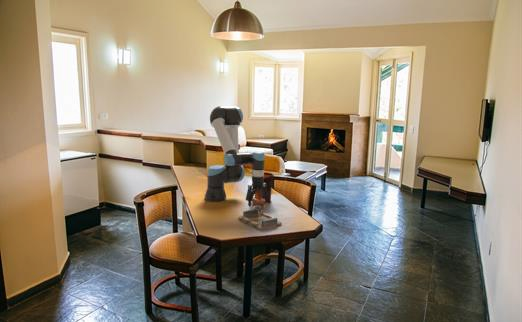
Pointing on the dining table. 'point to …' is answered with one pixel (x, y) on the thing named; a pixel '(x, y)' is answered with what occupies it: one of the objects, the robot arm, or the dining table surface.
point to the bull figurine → (258, 203)
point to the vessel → (268, 180)
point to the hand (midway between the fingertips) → (256, 209)
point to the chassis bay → (259, 219)
